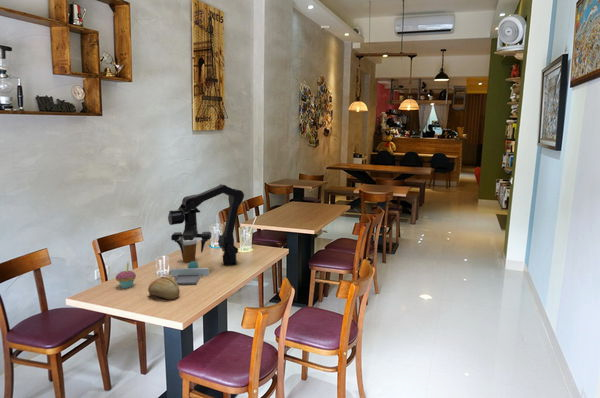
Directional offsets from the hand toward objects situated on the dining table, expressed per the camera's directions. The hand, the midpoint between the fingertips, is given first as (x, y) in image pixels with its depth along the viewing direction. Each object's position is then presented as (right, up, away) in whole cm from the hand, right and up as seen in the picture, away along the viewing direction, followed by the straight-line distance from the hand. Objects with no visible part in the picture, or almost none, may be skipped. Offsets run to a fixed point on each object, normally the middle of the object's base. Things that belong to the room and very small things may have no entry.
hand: (192, 252), depth 223 cm
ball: (0, -7, +1) cm, 7 cm away
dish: (0, -12, -13) cm, 17 cm away
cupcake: (-26, -13, -19) cm, 34 cm away
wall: (0, -10, -5) cm, 12 cm away
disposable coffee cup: (-6, -7, +18) cm, 20 cm away
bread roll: (-5, -15, -31) cm, 35 cm away
